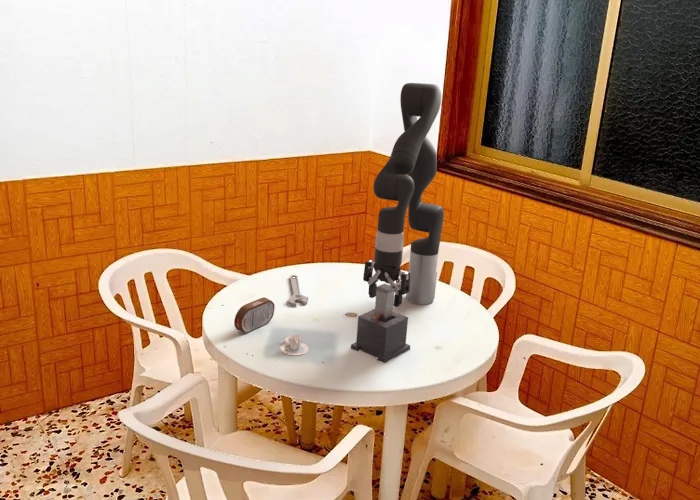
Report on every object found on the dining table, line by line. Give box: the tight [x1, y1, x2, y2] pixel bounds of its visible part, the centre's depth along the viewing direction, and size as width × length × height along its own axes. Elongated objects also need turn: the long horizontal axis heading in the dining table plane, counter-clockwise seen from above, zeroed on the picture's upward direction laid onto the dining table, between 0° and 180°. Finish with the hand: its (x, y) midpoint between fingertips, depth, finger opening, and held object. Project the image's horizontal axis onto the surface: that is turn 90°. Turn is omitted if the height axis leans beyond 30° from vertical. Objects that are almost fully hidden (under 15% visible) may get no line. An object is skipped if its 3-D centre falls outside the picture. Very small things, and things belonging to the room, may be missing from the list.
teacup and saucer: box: [279, 334, 310, 356], centre depth 188 cm, size 9×8×4 cm
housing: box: [350, 308, 411, 364], centre depth 189 cm, size 12×12×11 cm
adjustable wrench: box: [287, 274, 309, 308], centre depth 227 cm, size 25×6×2 cm, turn 4°
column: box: [374, 283, 395, 322], centre depth 188 cm, size 4×4×19 cm
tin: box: [233, 297, 276, 334], centre depth 197 cm, size 15×3×8 cm, turn 144°
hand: (384, 301), depth 186 cm, fingers open, 8 cm apart
